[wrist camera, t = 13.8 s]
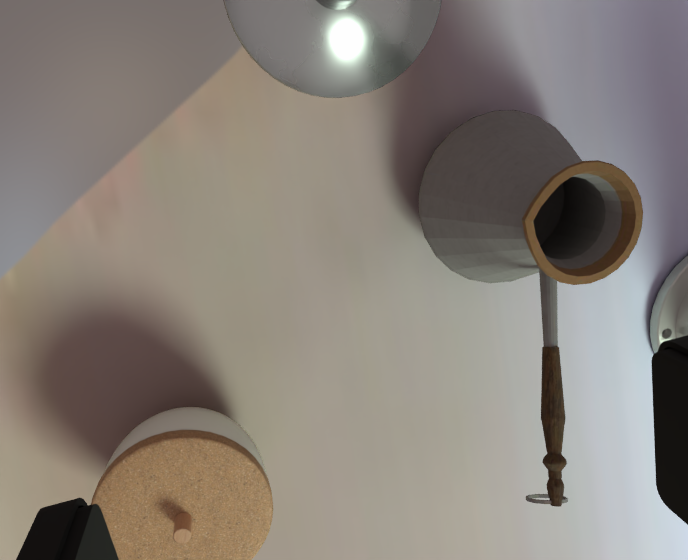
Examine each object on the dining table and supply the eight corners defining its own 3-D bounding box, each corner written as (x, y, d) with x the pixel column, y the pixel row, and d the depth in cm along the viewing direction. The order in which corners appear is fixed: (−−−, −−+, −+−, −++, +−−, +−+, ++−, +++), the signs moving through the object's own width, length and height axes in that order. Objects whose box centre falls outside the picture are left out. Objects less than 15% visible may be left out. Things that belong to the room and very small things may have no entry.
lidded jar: (103, 513, 44) (74, 614, 35) (119, 375, 42) (91, 445, 33) (252, 519, 46) (260, 615, 37) (275, 389, 44) (289, 458, 35)
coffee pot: (416, 101, 41) (523, 94, 27) (571, 119, 43) (744, 120, 29) (381, 396, 46) (455, 522, 32) (521, 396, 48) (648, 514, 34)
